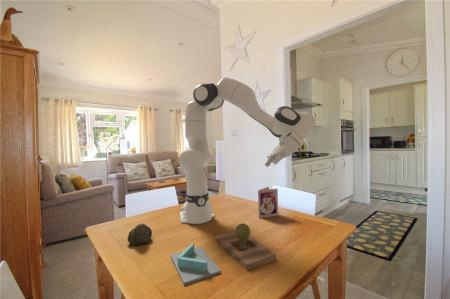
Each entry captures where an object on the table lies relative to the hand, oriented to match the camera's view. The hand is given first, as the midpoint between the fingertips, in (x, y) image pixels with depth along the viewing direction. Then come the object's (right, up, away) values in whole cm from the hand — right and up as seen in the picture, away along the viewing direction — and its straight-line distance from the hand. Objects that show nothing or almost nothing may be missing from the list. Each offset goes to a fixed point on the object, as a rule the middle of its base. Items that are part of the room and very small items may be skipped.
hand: (270, 164), depth 92 cm
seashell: (-56, -34, +3) cm, 65 cm away
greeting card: (+4, -30, +29) cm, 42 cm away
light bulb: (-12, -32, -8) cm, 36 cm away
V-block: (-30, -33, -17) cm, 48 cm away
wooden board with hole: (-12, -32, -8) cm, 35 cm away
